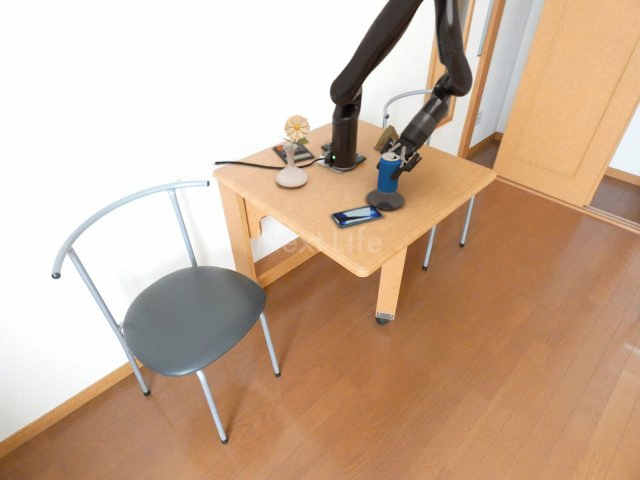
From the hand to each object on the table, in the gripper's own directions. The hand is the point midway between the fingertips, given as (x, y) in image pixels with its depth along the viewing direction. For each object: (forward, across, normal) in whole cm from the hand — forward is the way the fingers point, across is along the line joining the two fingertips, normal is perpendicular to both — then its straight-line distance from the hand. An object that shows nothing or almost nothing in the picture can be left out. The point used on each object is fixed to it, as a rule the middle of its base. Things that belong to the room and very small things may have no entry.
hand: (384, 174), depth 116 cm
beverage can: (+3, 0, +6) cm, 7 cm away
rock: (-10, -28, +25) cm, 39 cm away
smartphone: (+16, +2, 0) cm, 16 cm away
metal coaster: (+6, 0, +8) cm, 11 cm away
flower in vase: (+21, -26, -6) cm, 34 cm away
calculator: (+13, -46, +1) cm, 48 cm away
